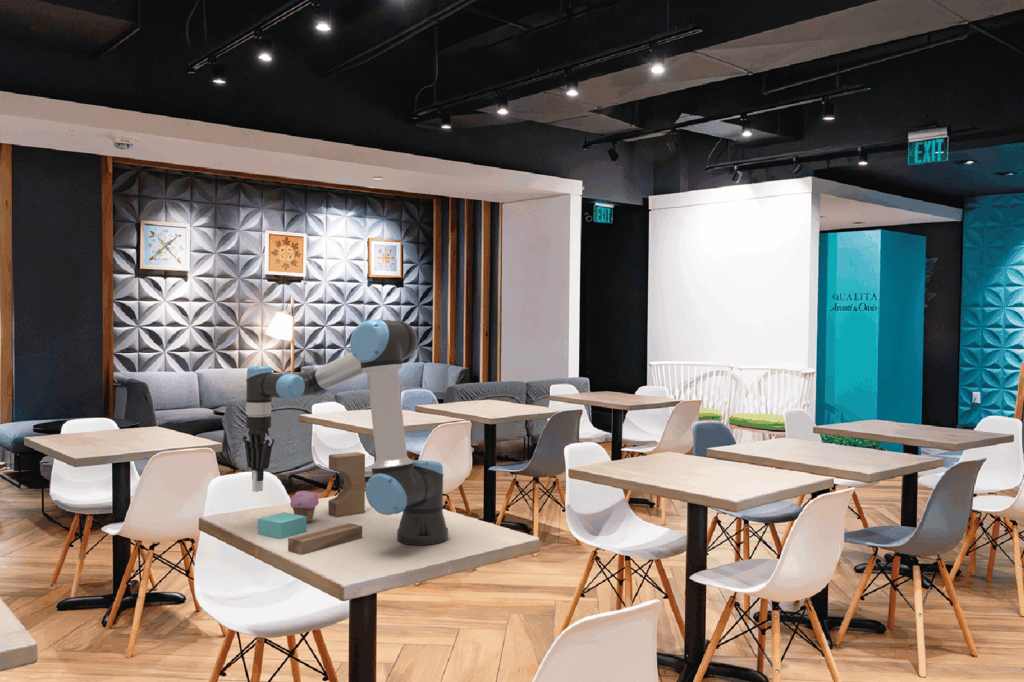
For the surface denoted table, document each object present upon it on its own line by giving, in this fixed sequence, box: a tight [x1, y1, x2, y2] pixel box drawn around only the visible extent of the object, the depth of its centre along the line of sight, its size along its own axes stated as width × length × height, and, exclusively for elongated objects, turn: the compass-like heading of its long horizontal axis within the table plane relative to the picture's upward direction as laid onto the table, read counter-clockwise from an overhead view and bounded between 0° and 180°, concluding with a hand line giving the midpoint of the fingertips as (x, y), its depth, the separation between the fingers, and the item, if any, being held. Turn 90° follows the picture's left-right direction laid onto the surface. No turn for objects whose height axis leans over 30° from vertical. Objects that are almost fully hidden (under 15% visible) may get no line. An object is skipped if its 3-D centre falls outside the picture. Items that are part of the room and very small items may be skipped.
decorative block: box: [327, 451, 366, 518], centre depth 255 cm, size 11×6×20 cm, turn 128°
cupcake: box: [289, 490, 320, 524], centre depth 243 cm, size 9×9×10 cm
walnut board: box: [287, 522, 363, 555], centre depth 217 cm, size 6×22×4 cm, turn 144°
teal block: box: [257, 512, 308, 540], centre depth 229 cm, size 10×10×5 cm
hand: (257, 490), depth 236 cm, fingers closed
